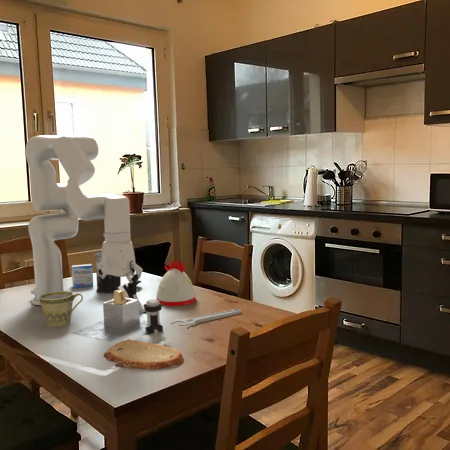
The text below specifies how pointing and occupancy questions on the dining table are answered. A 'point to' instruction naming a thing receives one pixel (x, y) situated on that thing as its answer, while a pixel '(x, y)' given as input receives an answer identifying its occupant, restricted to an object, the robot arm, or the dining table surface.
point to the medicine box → (82, 275)
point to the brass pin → (119, 296)
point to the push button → (153, 317)
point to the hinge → (125, 287)
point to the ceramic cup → (58, 307)
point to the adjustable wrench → (207, 317)
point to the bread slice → (143, 355)
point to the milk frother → (115, 279)
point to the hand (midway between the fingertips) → (120, 292)
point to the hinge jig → (115, 321)
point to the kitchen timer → (175, 287)
